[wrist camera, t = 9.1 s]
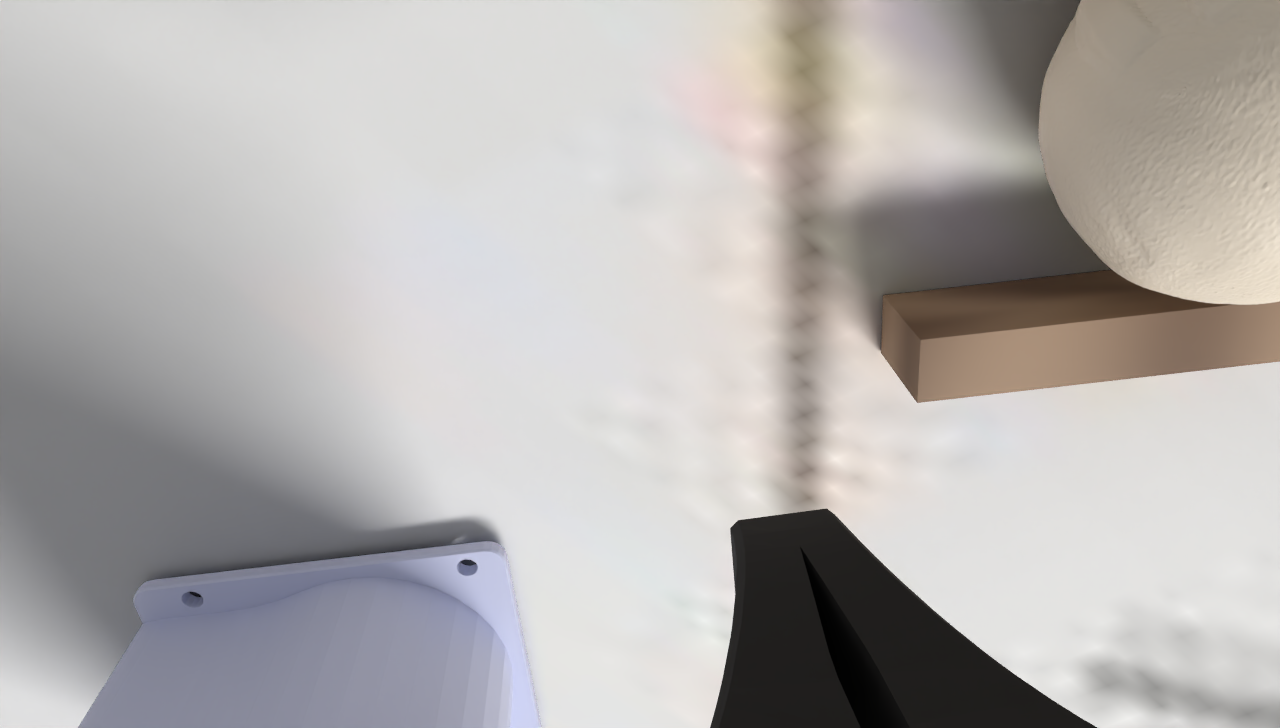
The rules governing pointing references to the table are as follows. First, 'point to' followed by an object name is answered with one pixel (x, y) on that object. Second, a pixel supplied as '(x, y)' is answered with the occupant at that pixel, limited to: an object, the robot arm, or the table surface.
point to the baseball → (1171, 143)
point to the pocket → (1063, 335)
